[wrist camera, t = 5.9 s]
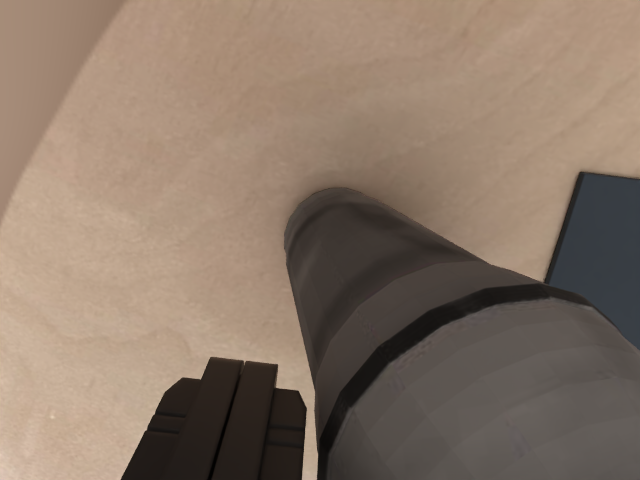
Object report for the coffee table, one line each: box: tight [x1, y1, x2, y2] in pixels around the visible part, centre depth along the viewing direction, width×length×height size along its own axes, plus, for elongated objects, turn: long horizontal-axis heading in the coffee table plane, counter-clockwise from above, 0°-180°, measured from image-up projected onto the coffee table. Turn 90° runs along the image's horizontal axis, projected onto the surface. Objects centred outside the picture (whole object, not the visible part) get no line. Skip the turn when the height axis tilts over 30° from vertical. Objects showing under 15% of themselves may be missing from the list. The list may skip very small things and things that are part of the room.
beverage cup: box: [284, 188, 640, 480], centre depth 11 cm, size 7×7×20 cm
